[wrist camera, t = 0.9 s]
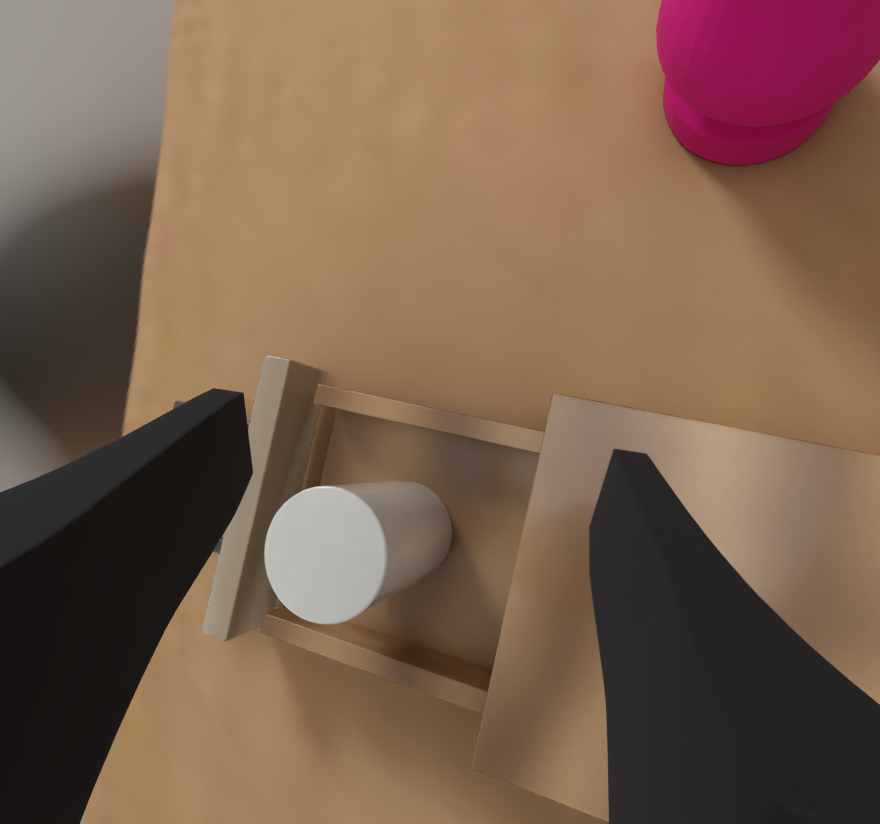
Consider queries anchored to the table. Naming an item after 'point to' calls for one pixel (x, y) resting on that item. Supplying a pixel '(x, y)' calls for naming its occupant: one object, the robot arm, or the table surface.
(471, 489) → the drawer
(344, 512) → the spice jar
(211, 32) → the table surface
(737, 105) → the pepper mill
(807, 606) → the cabinet
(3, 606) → the robot arm
